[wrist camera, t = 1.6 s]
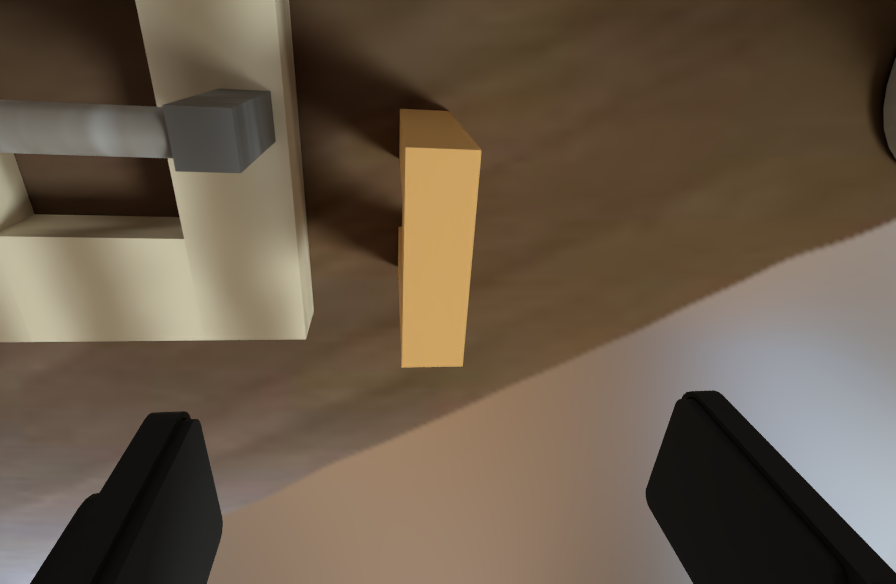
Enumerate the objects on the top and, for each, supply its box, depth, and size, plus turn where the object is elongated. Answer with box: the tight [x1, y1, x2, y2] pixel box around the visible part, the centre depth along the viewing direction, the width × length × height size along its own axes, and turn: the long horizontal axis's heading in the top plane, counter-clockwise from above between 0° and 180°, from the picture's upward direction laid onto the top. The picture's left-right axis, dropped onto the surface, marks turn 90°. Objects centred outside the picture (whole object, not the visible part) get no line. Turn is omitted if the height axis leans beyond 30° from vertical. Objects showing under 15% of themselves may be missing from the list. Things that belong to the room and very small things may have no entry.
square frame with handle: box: [0, 0, 314, 342], centre depth 18 cm, size 18×20×8 cm
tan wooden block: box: [398, 109, 481, 367], centre depth 21 cm, size 2×8×9 cm, turn 177°
